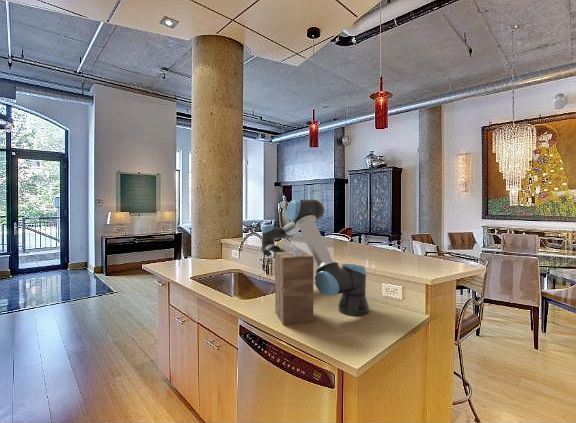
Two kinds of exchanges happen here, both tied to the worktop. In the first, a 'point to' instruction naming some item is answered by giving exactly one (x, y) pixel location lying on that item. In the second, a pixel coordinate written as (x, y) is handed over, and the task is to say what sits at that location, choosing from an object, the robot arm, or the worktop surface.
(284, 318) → the walnut stand
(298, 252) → the metal bar
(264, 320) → the worktop surface
